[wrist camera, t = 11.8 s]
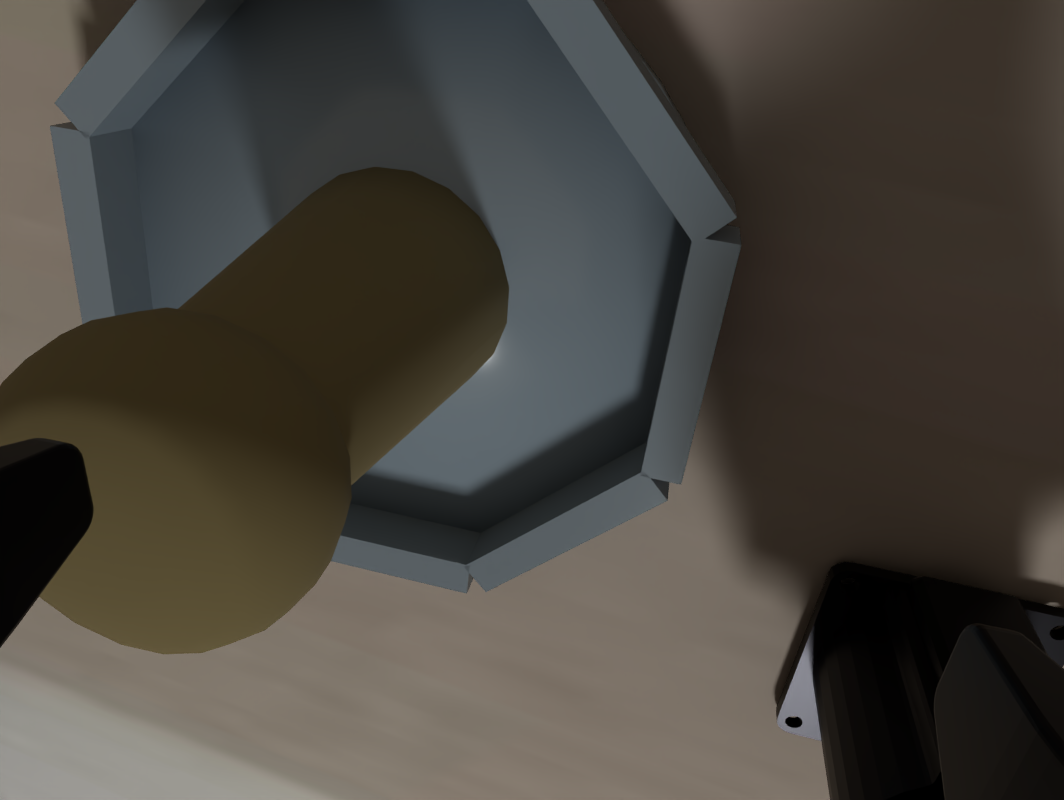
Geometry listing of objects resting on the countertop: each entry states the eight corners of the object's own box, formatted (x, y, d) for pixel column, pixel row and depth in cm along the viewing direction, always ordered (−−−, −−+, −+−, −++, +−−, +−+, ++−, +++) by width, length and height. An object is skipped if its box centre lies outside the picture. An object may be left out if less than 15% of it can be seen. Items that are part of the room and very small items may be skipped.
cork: (239, 265, 20) (-183, 496, 11) (393, 111, 18) (19, 231, 8) (394, 433, 22) (143, 770, 12) (558, 312, 19) (405, 618, 10)
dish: (649, 577, 23) (642, 635, 21) (164, 465, 25) (113, 508, 23) (797, -25, 16) (810, -30, 14) (93, -114, 18) (7, -131, 16)
